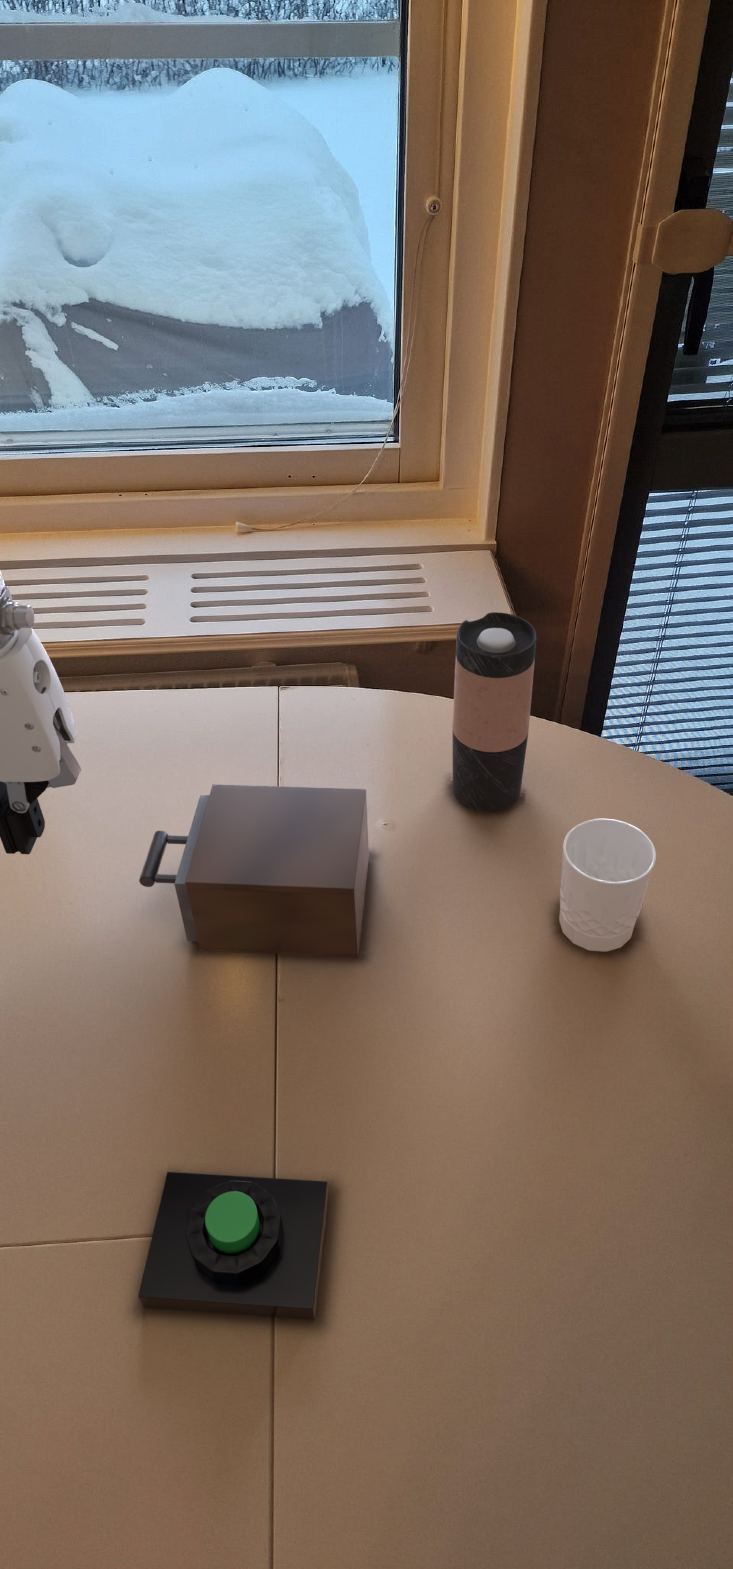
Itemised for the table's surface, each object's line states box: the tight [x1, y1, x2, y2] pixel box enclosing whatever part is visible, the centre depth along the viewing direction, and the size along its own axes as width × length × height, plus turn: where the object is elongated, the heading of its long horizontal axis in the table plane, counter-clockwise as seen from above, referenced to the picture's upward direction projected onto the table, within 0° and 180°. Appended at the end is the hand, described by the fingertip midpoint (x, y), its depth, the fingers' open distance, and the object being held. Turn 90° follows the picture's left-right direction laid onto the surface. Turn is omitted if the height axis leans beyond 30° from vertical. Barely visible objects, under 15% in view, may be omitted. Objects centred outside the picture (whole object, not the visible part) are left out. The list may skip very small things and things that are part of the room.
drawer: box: [138, 794, 210, 942], centre depth 96 cm, size 18×11×8 cm, turn 85°
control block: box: [138, 1171, 330, 1321], centre depth 73 cm, size 12×9×4 cm
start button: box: [205, 1191, 260, 1253], centre depth 72 cm, size 4×4×2 cm
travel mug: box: [451, 611, 537, 813], centre depth 103 cm, size 8×8×20 cm
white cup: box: [558, 818, 657, 953], centre depth 93 cm, size 8×8×10 cm
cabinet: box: [185, 783, 370, 959], centre depth 96 cm, size 15×13×10 cm
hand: (25, 839), depth 74 cm, fingers closed
